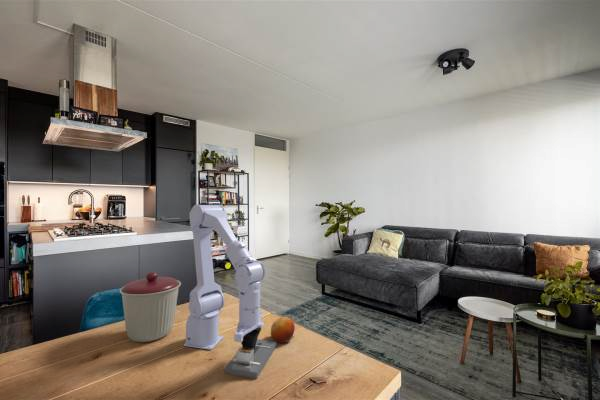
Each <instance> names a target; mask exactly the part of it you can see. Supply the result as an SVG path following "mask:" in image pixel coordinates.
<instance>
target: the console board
mask: <svg viewBox="0 0 600 400" xmlns="http://www.w3.org/2000/svg"><path fill="white" fill-rule="evenodd" d="M276 348H277V342H276V341H275V340H274V341H273V340H265V339H259V338H257V341H256V346H255V350H254V362H253V364H252V365H251V366H244V365H238V364H236V354H234V356H233V357H232V358H231V360H230V361H228V363H227V365H225V366H224V374H226V375H233V376H239V377H246V378H251V379H256V380H257V379H258V378H259V376H260V375H261V373H262V371H263V369H264V368H265V366H266V364H267V363H268V361H269V360H270V358H271V356H272V355H273V353H274V351H275V349H276Z"/></svg>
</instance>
